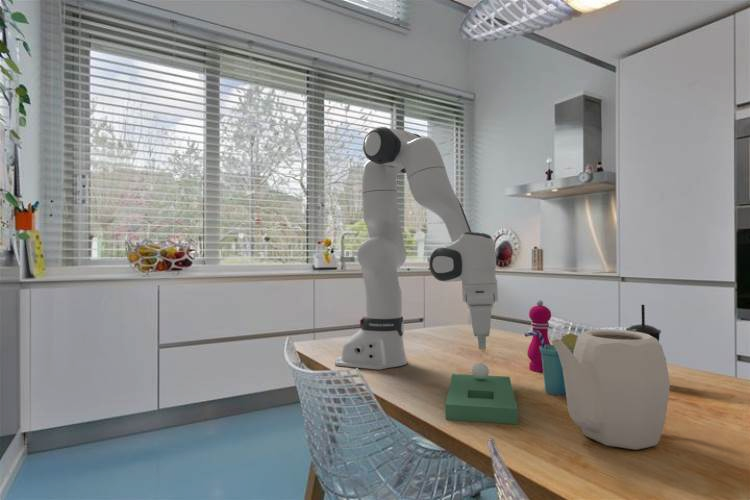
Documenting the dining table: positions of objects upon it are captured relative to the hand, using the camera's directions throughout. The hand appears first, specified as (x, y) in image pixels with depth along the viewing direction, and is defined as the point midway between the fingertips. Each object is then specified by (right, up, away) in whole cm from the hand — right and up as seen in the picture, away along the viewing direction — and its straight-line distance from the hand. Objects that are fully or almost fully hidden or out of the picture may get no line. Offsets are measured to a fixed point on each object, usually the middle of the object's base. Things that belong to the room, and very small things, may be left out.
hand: (482, 348), depth 116 cm
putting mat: (-4, -9, -14) cm, 17 cm away
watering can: (+15, -9, -35) cm, 39 cm away
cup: (+15, -9, -7) cm, 19 cm away
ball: (-2, -4, -6) cm, 8 cm away
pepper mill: (+20, -9, +14) cm, 26 cm away
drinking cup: (+42, -9, 0) cm, 43 cm away
